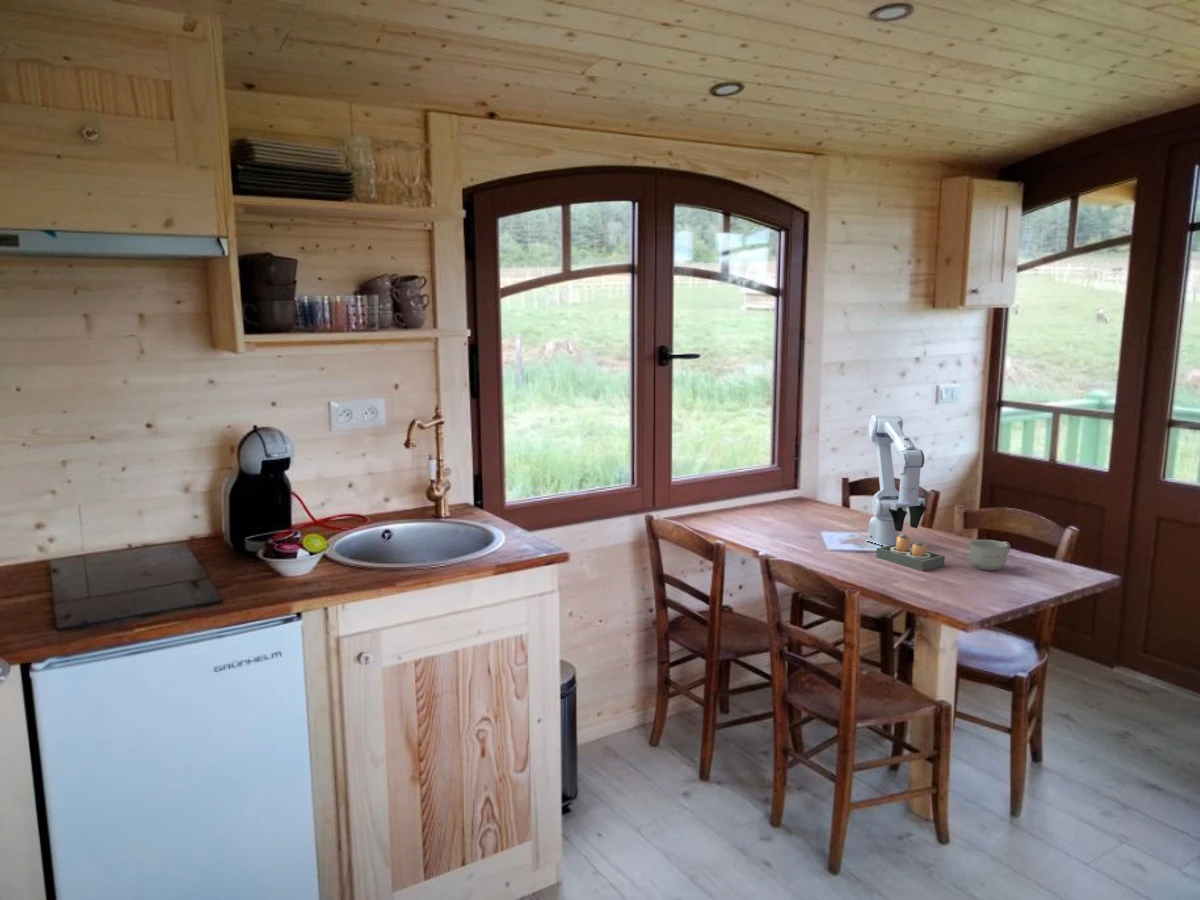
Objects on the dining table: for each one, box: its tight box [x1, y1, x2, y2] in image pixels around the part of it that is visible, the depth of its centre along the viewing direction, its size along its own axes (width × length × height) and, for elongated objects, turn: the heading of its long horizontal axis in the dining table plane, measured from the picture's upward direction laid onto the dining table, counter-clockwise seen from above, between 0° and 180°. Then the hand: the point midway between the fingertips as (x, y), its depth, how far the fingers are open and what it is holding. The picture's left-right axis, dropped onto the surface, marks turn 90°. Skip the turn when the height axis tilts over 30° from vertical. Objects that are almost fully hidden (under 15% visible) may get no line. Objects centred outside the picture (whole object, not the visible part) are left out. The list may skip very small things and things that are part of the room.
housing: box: [875, 541, 946, 572], centre depth 261 cm, size 17×11×7 cm, turn 33°
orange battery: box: [896, 533, 911, 552], centre depth 263 cm, size 4×4×7 cm
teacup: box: [968, 539, 1011, 571], centre depth 255 cm, size 14×11×8 cm
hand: (906, 529), depth 263 cm, fingers open, 7 cm apart
